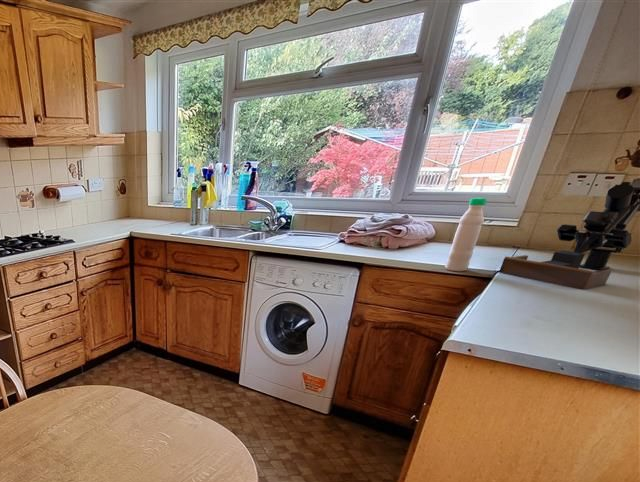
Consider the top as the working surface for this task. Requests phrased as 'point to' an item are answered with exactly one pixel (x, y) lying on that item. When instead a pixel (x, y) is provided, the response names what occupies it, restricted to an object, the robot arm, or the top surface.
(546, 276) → the brown shallow tray
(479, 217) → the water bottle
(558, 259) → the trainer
